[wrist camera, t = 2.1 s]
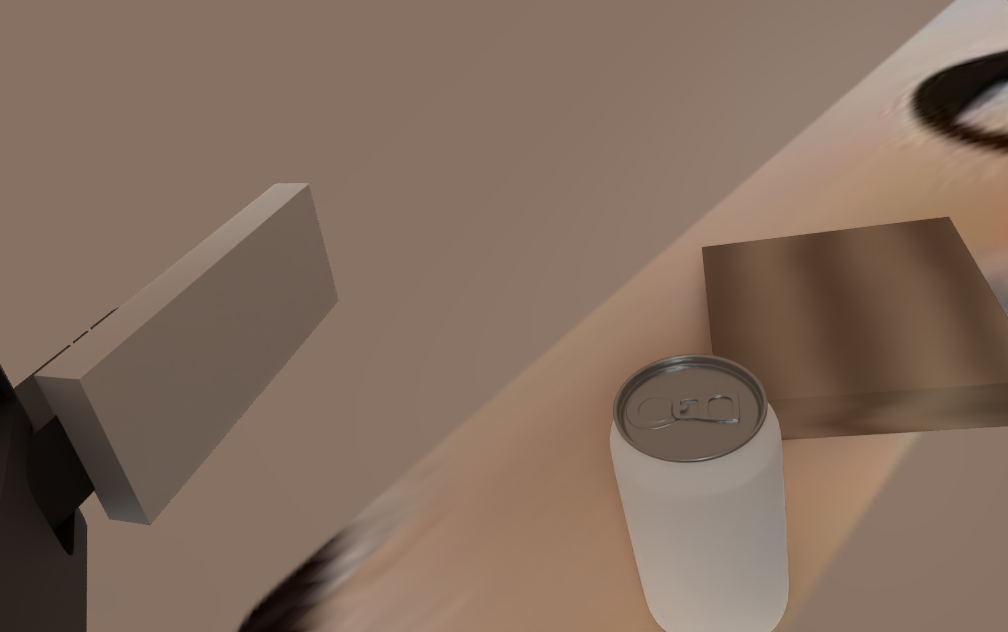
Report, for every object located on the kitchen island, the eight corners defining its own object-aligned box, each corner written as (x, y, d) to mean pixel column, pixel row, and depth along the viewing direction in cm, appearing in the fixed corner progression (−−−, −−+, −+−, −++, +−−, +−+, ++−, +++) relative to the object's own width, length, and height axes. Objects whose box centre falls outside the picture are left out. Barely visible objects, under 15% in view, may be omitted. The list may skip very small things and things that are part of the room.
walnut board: (944, 256, 50) (948, 216, 49) (1034, 424, 39) (1044, 380, 37) (705, 283, 54) (702, 247, 52) (722, 443, 43) (718, 403, 41)
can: (647, 531, 39) (608, 351, 32) (783, 532, 37) (772, 341, 30) (640, 653, 34) (593, 472, 27) (796, 661, 32) (788, 468, 26)
